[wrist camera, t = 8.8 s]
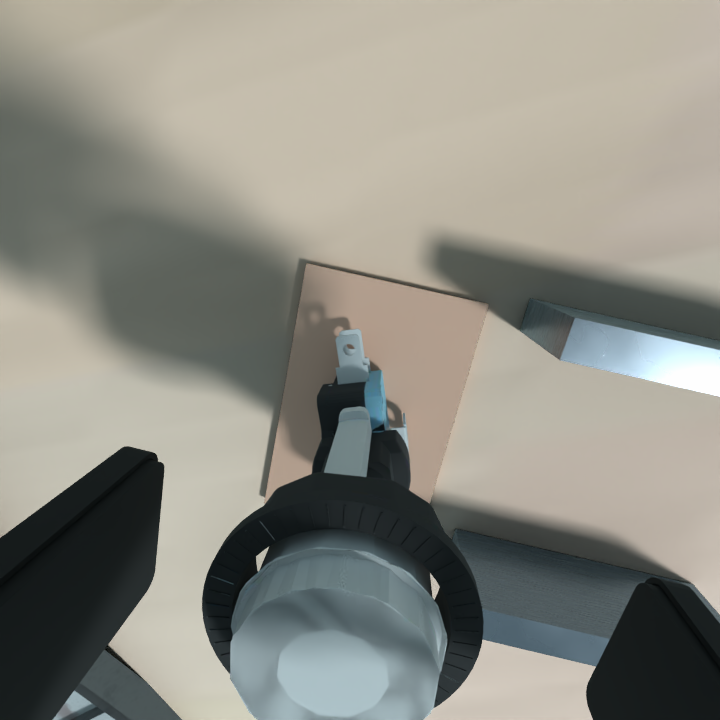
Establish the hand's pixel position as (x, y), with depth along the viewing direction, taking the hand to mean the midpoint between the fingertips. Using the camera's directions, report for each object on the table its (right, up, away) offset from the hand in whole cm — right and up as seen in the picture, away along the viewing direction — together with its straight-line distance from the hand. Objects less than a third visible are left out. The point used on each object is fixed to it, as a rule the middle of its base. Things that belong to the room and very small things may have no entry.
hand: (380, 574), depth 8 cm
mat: (0, +2, +9) cm, 9 cm away
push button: (0, +2, +8) cm, 9 cm away
